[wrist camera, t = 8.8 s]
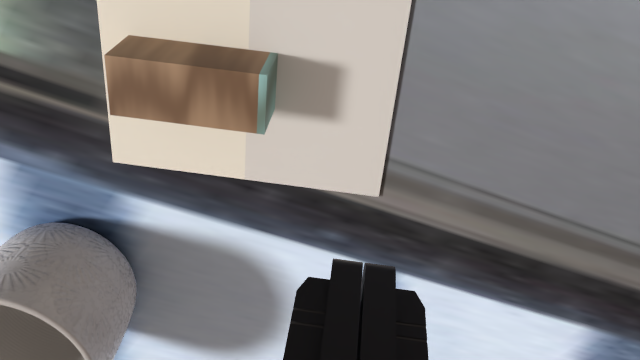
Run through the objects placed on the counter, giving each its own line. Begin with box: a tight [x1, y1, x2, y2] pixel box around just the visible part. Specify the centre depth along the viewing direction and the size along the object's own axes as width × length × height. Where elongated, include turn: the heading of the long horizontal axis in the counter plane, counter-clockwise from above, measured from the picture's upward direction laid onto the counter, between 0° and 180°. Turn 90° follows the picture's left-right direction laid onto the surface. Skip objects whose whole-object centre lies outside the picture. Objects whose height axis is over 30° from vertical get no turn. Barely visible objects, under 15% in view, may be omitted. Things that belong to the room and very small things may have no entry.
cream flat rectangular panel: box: [97, 0, 412, 197], centre depth 41 cm, size 16×20×1 cm
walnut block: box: [104, 35, 278, 135], centre depth 39 cm, size 4×4×10 cm
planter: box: [0, 223, 136, 360], centre depth 47 cm, size 12×12×11 cm
